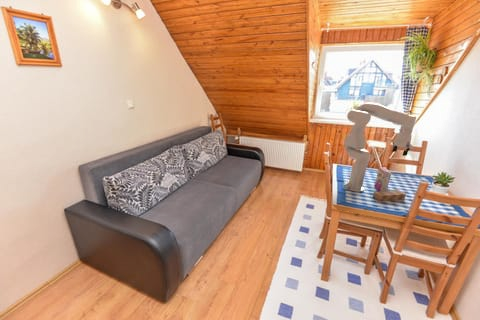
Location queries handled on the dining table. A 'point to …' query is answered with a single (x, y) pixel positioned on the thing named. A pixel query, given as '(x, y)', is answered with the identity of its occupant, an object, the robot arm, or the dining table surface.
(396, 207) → the dining table surface
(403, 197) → the brown lumpy bar
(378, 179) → the candy bar box
